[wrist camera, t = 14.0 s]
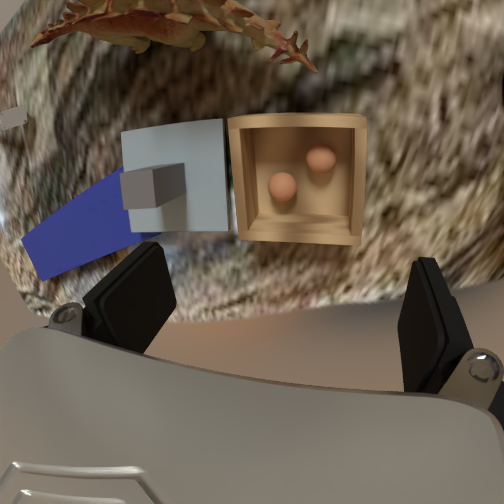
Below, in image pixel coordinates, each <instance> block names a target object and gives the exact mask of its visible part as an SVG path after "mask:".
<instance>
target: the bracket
mask: <svg viewBox="0 0 504 504" xmlns="http://www.w3.org/2000/svg"><path fill="white" fill-rule="evenodd" d="M23 106H25V108H23ZM2 113H4V114H3V115H2ZM0 115H1V117H0V118H1V120H0V127H2V130H6V129H9V128H12V127H15V126H18V125H22V124H25V123H27V111H26V105H22V106H18V107H15V108H12V109H8V110H5V111H2V112H1V114H0ZM24 120H26V122H24ZM3 127H5V129H3Z"/></svg>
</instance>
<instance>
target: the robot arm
mask: <svg viewBox="0 0 504 504" xmlns="http://www.w3.org/2000/svg"><path fill="white" fill-rule="evenodd" d="M82 299H83V301H84V303H85V306H86V307H85V308H84V309H83V308H82V306H81V305H80V304H79V303H76V302H71V303H67V304H64V305H62V306H60V307H59V308H57V309H56V310H55V311H54V312H53V313H52V315H51V317H50V320H49V325H48V326H45V327H41V328H30V329H26V330H22V331H20V332H19V333H17V334H16V335H14V336H13V337H12V338H11V339H10V340H9V341H8V342H7V343H5V345H3V346H2V347H1V349H0V504H504V382H503V381H502V379H503V375H504V368H503V365H502V362H501V360H500V359H499V358H498V357H497V355H495V354H494V353H493V352H491V351H489V350H487V349H482V348H474V347H473V344H472V341H471V338H470V335H469V332H468V329H467V327H466V324H465V322H464V319H463V316H462V313H461V311H460V308H459V306H458V304H457V301H456V299H455V297H453V296H451V294H450V291H449V289H448V287H447V284H446V282H445V280H444V277H443V275H442V273H441V271H440V268H439V266H438V264H437V262H436V260H435V258H428V257H419V258H418V260H417V261H413V263H412V267H411V272H410V276H409V281H408V285H407V289H406V293H405V298H404V302H403V306H402V309H401V313H400V317H399V321H398V337H399V343H400V353H401V362H402V372H403V383H404V392H398V391H374V390H358V389H346V388H333V387H322V386H312V385H303V384H294V383H286V382H279V381H271V380H265V379H258V378H252V377H246V376H240V375H235V374H229V373H224V372H218V371H213V370H209V369H204V368H199V367H194V366H190V365H185V364H181V363H177V362H172V361H169V360H165V359H160V358H157V357H152V356H149V355H145V354H143V353H144V352H145V350H146V349H147V348H148V346H149V345H150V343H151V342H152V340H153V339H154V338H155V336H156V335H157V333H158V332H159V330H160V329H161V327H162V326H163V325H164V323H165V322H166V321H167V319H168V318H169V316H170V315H171V314H172V312H173V311H174V309H175V308H176V303H177V301H176V297H175V293H174V290H173V286H172V282H171V278H170V274H169V271H168V267H167V263H166V259H165V255H164V250H163V248H162V247H161V246H160V245H159V243H157V242H143V243H142V244H140V245H139V246H138V247H137V248H136V249H135V250H134V251H132V252H131V253H130V254H129V255H128V256H127V257H126V258H125V259H123V260H122V261H121V262H120V263H119V264H118V265H117V266H116V267H115V268H114V269H113V270H111V271H110V272H109V273H108V274H107V275H106V276H105V277H104V278H103V279H102V280H101V281H100V282H99V283H97V284H96V285H95V286H94V287H93V288H92V289H91V290H90V291H89V292H88V293H87V294H86V295H85V296H84V297H83V298H82Z"/></svg>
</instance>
